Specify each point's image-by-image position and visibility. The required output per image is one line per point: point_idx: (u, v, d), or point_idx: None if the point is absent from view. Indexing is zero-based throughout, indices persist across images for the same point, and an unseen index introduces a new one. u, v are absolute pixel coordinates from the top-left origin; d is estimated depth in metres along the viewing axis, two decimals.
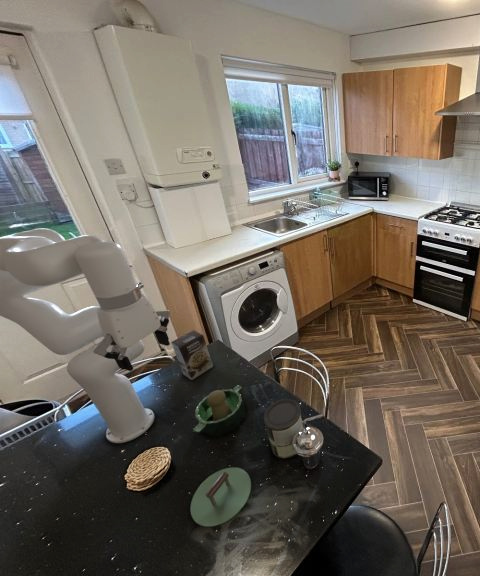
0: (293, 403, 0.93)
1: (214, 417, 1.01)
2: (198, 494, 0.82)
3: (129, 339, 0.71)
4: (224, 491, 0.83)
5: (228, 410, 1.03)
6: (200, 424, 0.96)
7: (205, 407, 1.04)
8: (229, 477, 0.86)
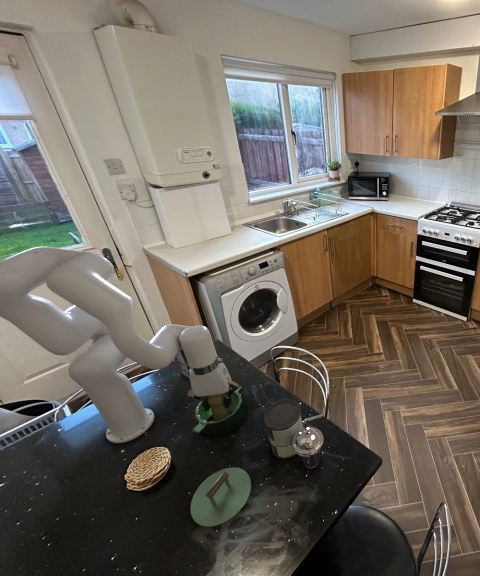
0: (293, 403, 0.93)
1: (214, 417, 1.01)
2: (198, 494, 0.82)
3: (200, 392, 0.95)
4: (224, 491, 0.83)
5: (228, 410, 1.03)
6: (200, 424, 0.96)
7: (205, 407, 1.04)
8: (229, 477, 0.86)
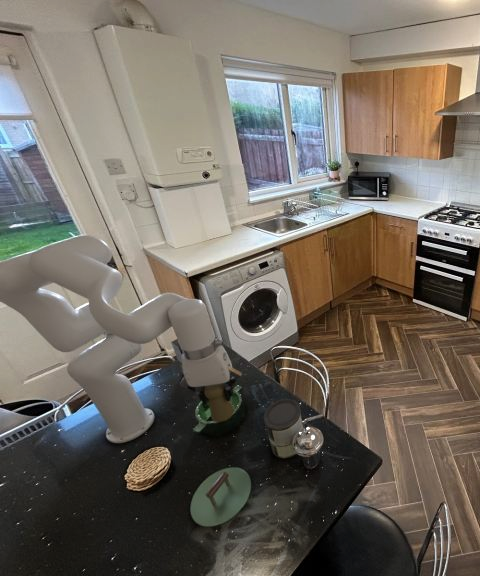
0: (293, 403, 0.93)
1: (212, 412, 0.84)
2: (198, 494, 0.82)
3: (195, 382, 0.78)
4: (224, 491, 0.83)
5: (229, 404, 0.86)
6: (200, 424, 0.96)
7: (205, 407, 1.04)
8: (229, 477, 0.86)
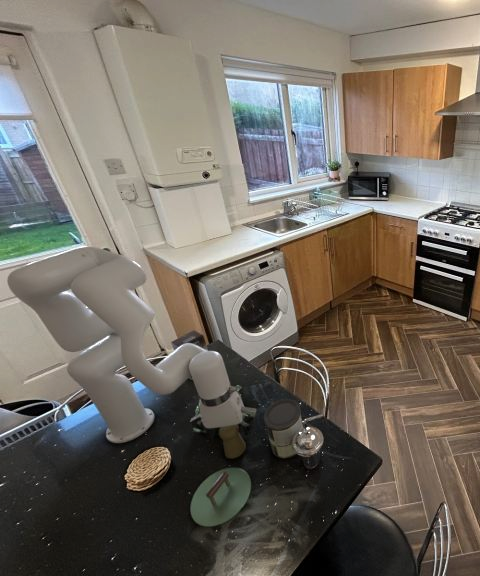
0: (293, 403, 0.93)
1: (226, 451, 0.91)
2: (198, 494, 0.82)
3: (211, 424, 0.85)
4: (224, 491, 0.83)
5: (241, 443, 0.93)
6: None
7: None
8: (229, 477, 0.86)
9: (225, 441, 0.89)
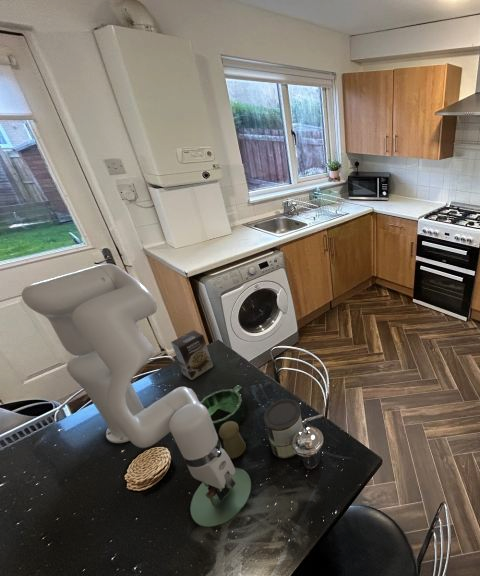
0: (293, 403, 0.93)
1: (226, 451, 0.91)
2: (198, 494, 0.82)
3: (196, 476, 0.77)
4: None
5: (241, 443, 0.93)
6: None
7: None
8: None
9: (225, 441, 0.89)
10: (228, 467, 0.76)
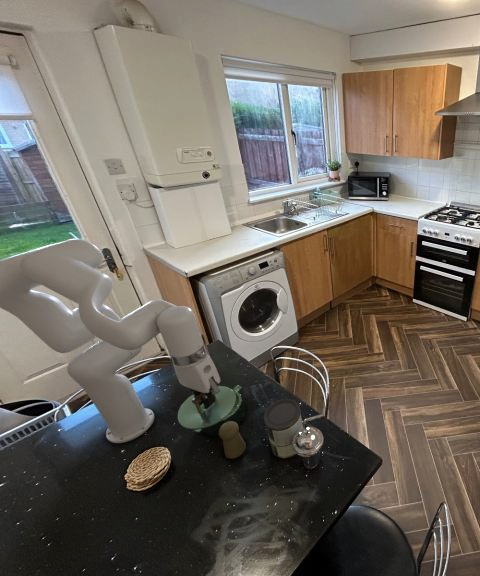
0: (293, 403, 0.93)
1: (226, 451, 0.91)
2: (185, 404, 0.87)
3: (183, 382, 0.82)
4: None
5: (241, 443, 0.93)
6: None
7: None
8: None
9: (225, 441, 0.89)
10: (213, 373, 0.80)
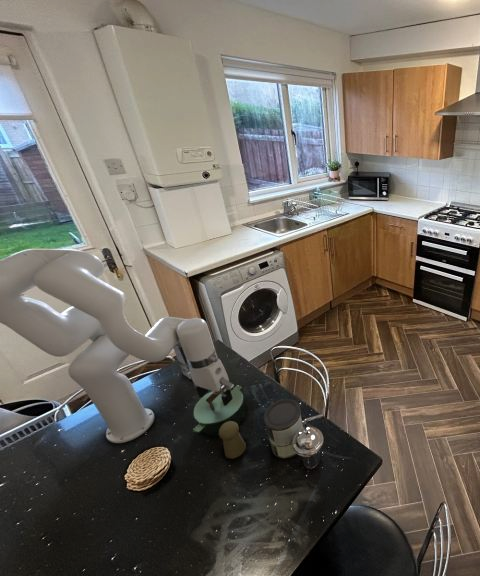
0: (293, 403, 0.93)
1: (226, 451, 0.91)
2: (199, 403, 1.01)
3: (197, 382, 0.95)
4: (220, 401, 1.02)
5: (241, 443, 0.93)
6: (200, 424, 0.96)
7: None
8: None
9: (225, 441, 0.89)
10: (223, 374, 0.94)
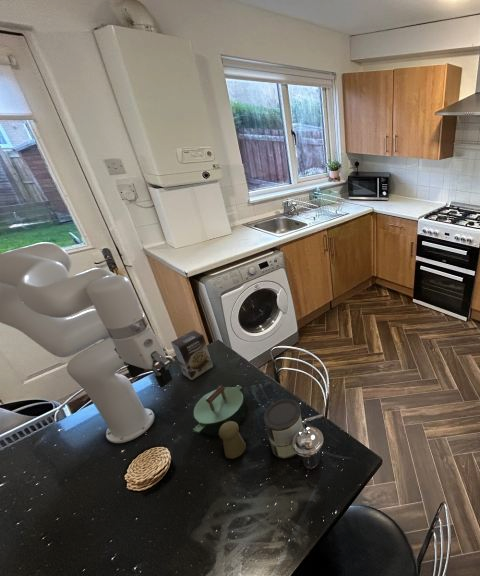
0: (293, 403, 0.93)
1: (226, 451, 0.91)
2: (199, 403, 1.01)
3: (125, 358, 0.77)
4: (220, 401, 1.02)
5: (241, 443, 0.93)
6: (200, 424, 0.96)
7: None
8: (225, 393, 1.05)
9: (225, 441, 0.89)
10: (156, 348, 0.76)
